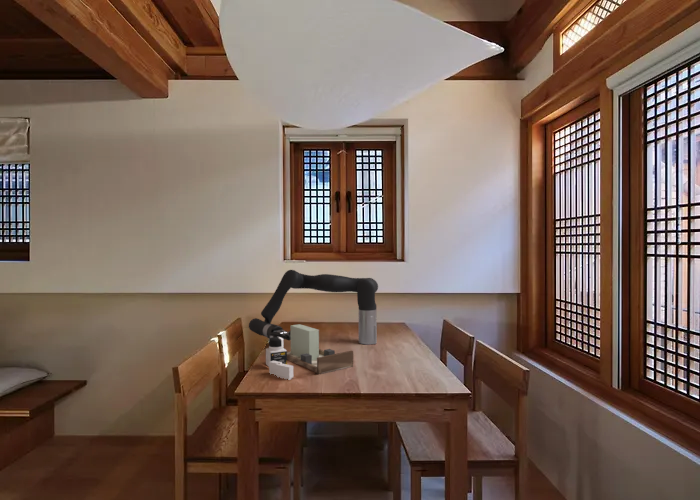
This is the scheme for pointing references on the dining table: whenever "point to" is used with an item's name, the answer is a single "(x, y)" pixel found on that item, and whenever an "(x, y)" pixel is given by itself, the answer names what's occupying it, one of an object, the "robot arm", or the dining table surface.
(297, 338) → the block
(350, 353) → the tray
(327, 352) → the trap posts
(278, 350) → the medicine bottle
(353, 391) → the dining table surface
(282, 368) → the white rectangular block
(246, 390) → the dining table surface
